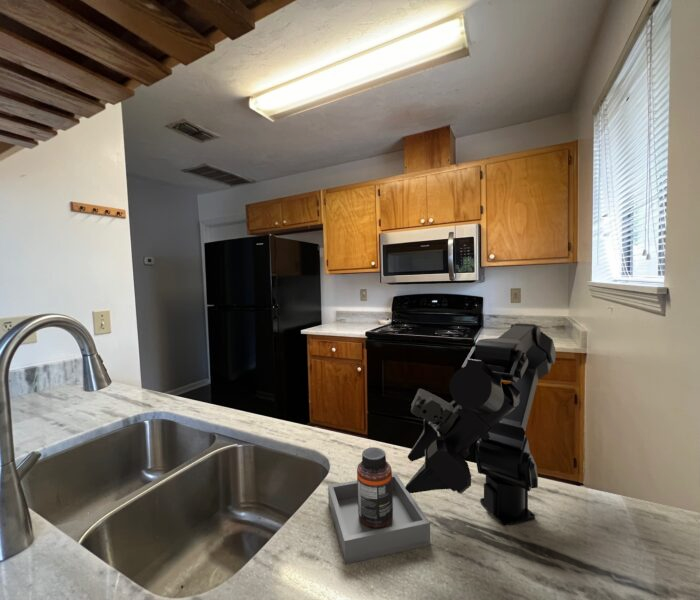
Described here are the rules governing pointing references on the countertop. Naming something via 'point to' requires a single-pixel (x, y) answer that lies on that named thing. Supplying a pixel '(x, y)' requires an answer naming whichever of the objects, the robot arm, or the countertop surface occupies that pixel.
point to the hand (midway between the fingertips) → (408, 473)
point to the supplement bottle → (374, 489)
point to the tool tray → (369, 542)
